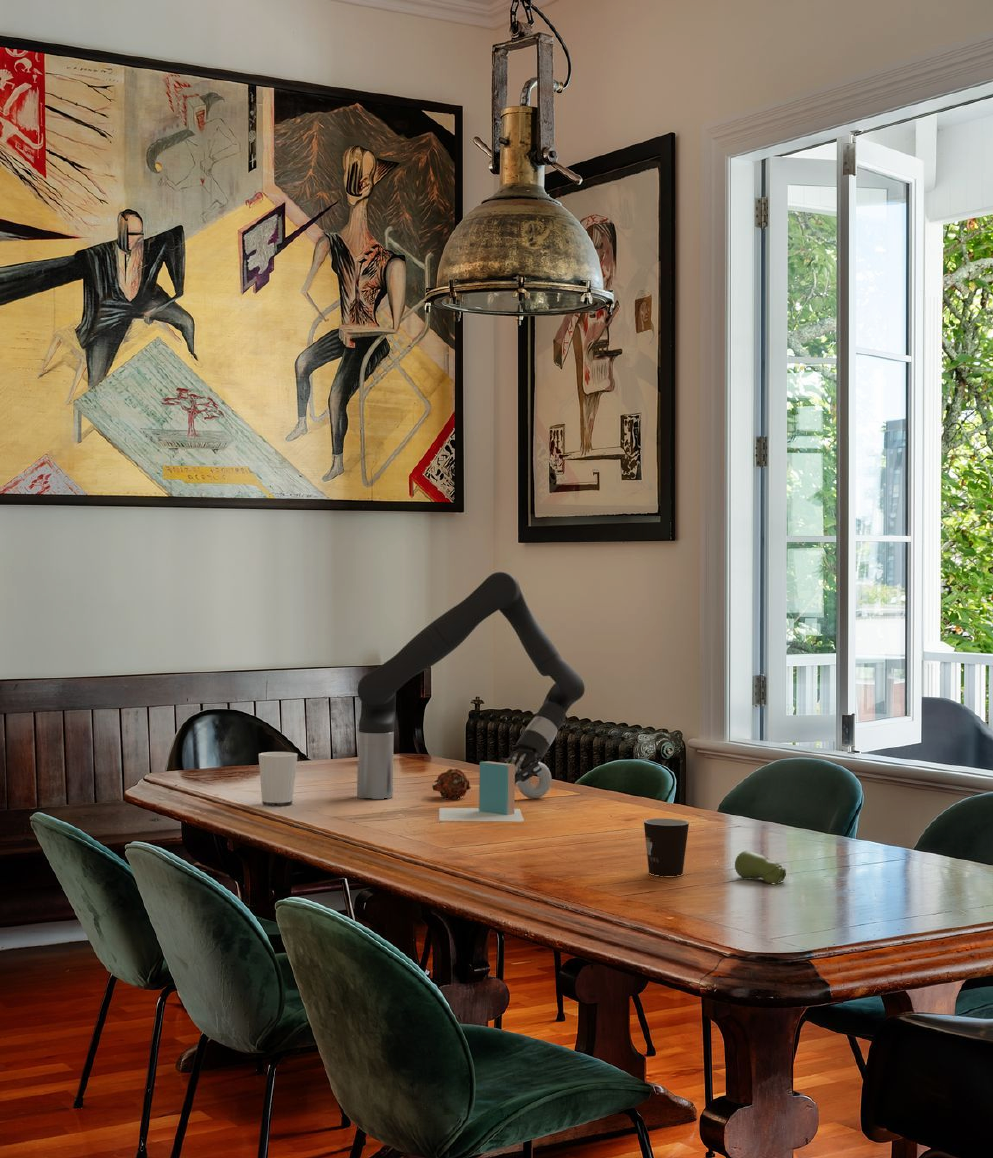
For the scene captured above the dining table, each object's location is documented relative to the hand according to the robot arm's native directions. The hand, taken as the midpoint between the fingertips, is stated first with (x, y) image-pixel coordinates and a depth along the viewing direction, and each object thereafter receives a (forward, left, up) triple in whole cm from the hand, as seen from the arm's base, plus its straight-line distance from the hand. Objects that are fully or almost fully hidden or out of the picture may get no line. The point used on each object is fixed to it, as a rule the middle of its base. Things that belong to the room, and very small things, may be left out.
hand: (503, 791), depth 336 cm
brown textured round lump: (-13, +25, -6) cm, 29 cm away
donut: (+9, +25, -5) cm, 27 cm away
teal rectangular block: (-2, -2, -5) cm, 6 cm away
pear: (+45, -80, -6) cm, 92 cm away
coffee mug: (+28, -74, -5) cm, 79 cm away
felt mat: (-6, -5, -5) cm, 9 cm away
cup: (-57, +11, -5) cm, 58 cm away
